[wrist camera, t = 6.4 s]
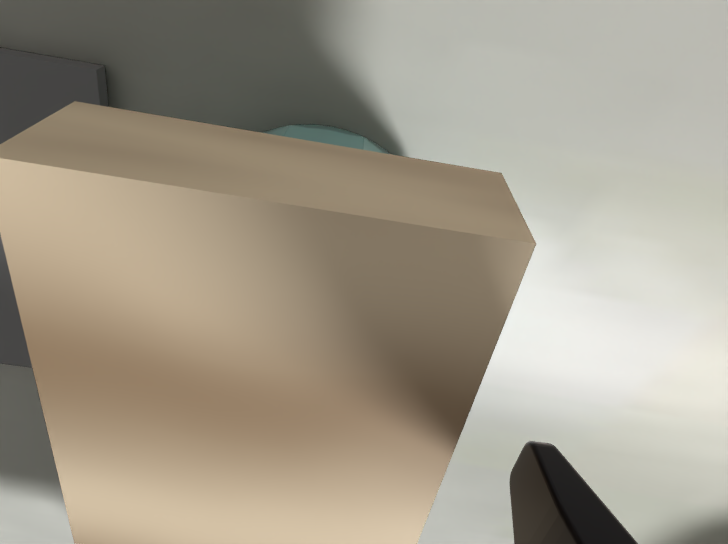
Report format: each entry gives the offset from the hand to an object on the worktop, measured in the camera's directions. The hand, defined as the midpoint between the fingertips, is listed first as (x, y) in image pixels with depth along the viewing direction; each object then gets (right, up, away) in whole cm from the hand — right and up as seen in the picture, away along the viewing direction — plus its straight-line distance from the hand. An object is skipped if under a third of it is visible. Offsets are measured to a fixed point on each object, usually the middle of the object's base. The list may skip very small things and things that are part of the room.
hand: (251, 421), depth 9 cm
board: (0, +1, +2) cm, 2 cm away
